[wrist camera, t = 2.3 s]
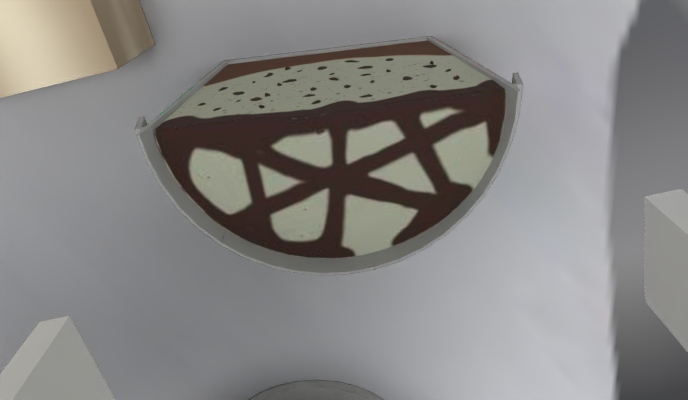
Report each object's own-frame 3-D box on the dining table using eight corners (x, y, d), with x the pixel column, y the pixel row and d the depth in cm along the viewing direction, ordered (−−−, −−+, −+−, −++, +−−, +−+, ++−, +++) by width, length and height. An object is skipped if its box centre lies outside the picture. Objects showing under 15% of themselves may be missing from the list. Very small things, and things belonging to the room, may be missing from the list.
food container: (218, 188, 28) (169, 308, 19) (191, 64, 26) (118, 137, 17) (466, 159, 28) (533, 268, 19) (464, 32, 26) (539, 88, 17)
